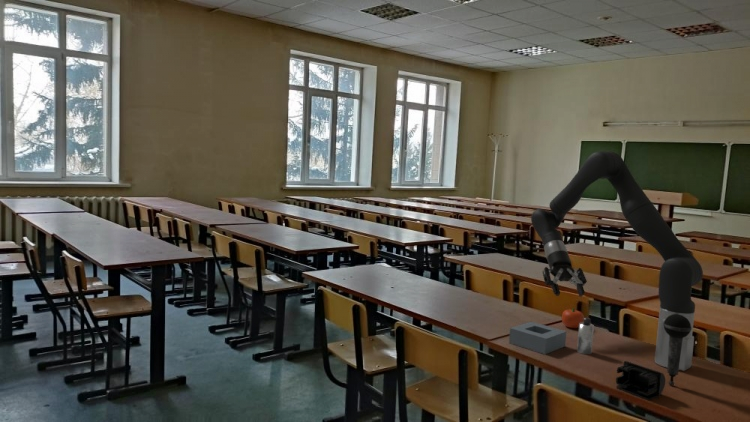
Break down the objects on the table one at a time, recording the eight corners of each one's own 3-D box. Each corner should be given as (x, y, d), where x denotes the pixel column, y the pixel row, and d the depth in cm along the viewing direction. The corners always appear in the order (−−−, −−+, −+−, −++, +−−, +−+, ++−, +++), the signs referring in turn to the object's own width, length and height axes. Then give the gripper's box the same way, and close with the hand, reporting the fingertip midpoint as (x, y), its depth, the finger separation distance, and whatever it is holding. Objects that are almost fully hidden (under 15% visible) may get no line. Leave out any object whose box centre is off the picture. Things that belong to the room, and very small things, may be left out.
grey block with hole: (565, 346, 180) (566, 331, 179) (544, 354, 171) (545, 338, 171) (530, 335, 189) (531, 321, 189) (509, 342, 180) (510, 328, 180)
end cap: (664, 396, 144) (666, 371, 143) (650, 402, 139) (653, 376, 139) (627, 382, 152) (630, 358, 151) (613, 387, 147) (616, 363, 147)
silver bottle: (594, 352, 175) (597, 319, 174) (587, 355, 172) (590, 321, 171) (580, 348, 178) (583, 315, 177) (574, 351, 175) (577, 317, 174)
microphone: (690, 391, 147) (698, 318, 145) (664, 389, 147) (672, 317, 146) (677, 381, 154) (684, 311, 152) (652, 379, 154) (659, 310, 152)
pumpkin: (578, 331, 197) (580, 311, 196) (557, 326, 202) (558, 307, 202) (586, 327, 203) (588, 308, 202) (565, 322, 208) (567, 303, 207)
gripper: (542, 249, 192) (554, 289, 181) (580, 250, 194) (594, 289, 183) (534, 261, 197) (546, 300, 187) (571, 262, 199) (585, 301, 189)
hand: (570, 295), depth 185 cm, fingers open, 8 cm apart
